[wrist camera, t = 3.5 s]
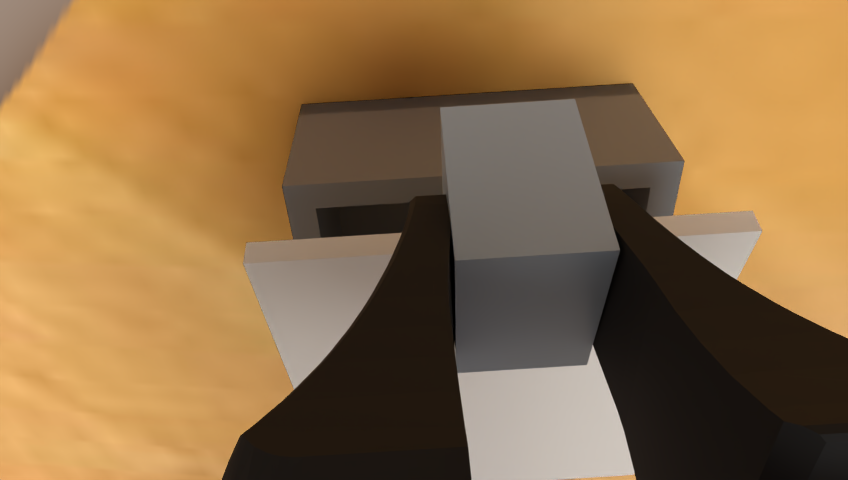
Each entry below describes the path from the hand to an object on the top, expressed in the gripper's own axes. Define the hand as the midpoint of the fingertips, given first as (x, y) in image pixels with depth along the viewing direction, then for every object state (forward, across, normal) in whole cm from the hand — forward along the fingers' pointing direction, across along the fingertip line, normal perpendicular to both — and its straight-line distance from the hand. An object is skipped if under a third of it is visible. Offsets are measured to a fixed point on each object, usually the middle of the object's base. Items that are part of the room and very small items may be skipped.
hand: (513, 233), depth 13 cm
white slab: (+4, 0, +6) cm, 7 cm away
